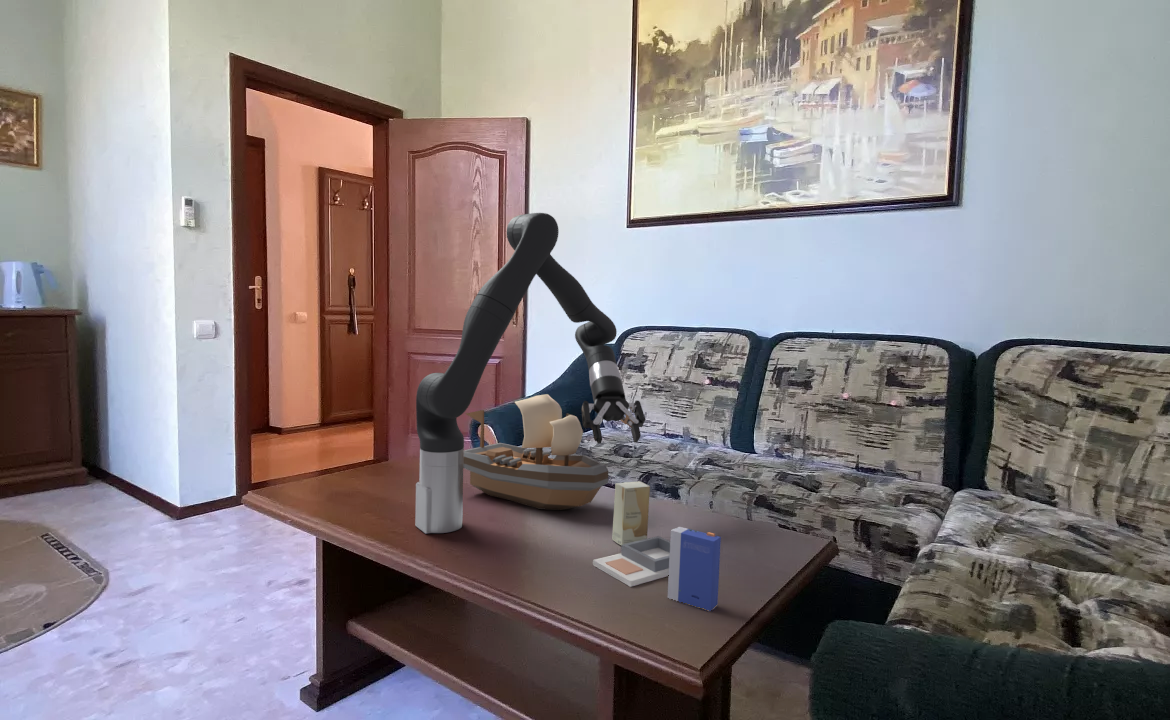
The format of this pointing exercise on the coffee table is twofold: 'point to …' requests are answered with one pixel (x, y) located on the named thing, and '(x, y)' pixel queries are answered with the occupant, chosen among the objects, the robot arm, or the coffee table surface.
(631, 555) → the plate
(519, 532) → the coffee table surface
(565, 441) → the sailing ship
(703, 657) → the coffee table surface
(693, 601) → the walkman
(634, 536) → the skincare box
